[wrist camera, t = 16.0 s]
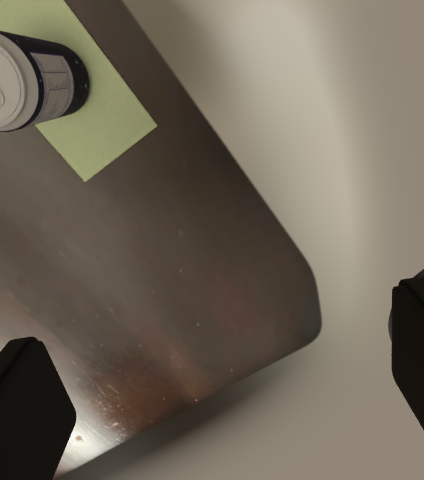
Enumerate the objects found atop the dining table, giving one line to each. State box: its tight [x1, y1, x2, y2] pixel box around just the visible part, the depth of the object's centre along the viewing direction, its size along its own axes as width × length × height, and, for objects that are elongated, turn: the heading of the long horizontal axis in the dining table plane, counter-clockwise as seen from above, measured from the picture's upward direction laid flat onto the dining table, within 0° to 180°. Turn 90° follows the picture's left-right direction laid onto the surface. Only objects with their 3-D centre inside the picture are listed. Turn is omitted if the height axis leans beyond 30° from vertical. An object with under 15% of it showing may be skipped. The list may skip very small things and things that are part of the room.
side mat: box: [0, 0, 158, 182], centre depth 31 cm, size 16×9×1 cm, turn 35°
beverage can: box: [0, 31, 90, 132], centre depth 26 cm, size 6×6×12 cm
